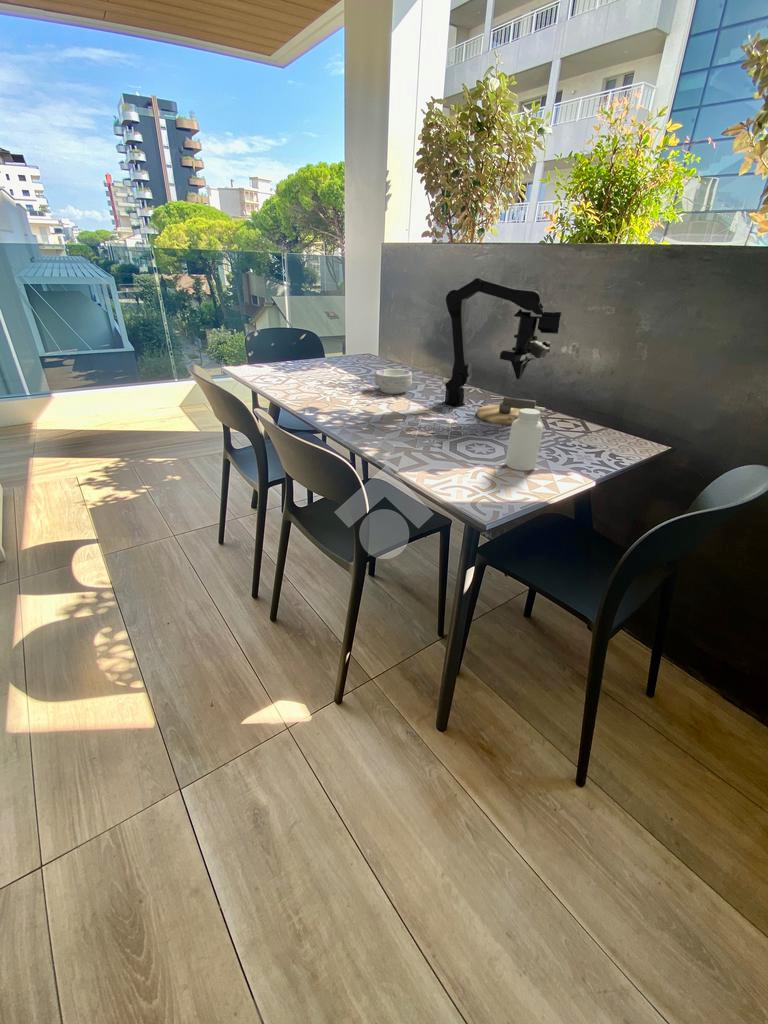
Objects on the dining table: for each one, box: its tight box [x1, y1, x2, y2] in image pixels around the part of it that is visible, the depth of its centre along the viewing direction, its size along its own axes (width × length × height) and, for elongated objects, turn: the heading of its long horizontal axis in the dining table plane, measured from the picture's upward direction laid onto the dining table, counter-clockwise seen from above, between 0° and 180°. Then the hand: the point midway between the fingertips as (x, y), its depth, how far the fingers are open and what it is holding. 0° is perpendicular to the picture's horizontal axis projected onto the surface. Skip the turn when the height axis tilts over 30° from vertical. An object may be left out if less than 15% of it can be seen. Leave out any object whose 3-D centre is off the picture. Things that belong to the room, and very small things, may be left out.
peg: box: [499, 396, 546, 413], centre depth 156 cm, size 15×4×5 cm, turn 68°
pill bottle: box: [505, 408, 544, 472], centre depth 117 cm, size 8×8×15 cm
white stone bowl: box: [374, 368, 413, 395], centre depth 185 cm, size 15×15×8 cm
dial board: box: [476, 404, 520, 426], centre depth 159 cm, size 19×19×2 cm
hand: (518, 378), depth 159 cm, fingers closed
